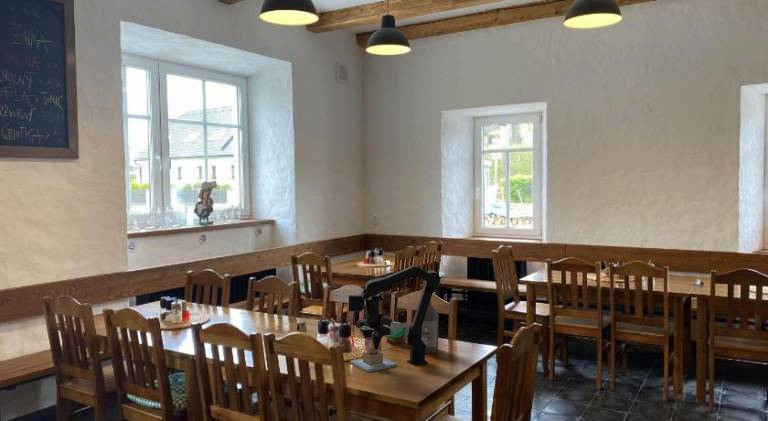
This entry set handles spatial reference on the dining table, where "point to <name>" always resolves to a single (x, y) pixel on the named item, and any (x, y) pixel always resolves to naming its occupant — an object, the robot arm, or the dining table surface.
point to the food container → (396, 333)
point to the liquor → (430, 330)
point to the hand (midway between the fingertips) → (373, 348)
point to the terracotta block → (371, 345)
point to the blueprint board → (368, 369)
